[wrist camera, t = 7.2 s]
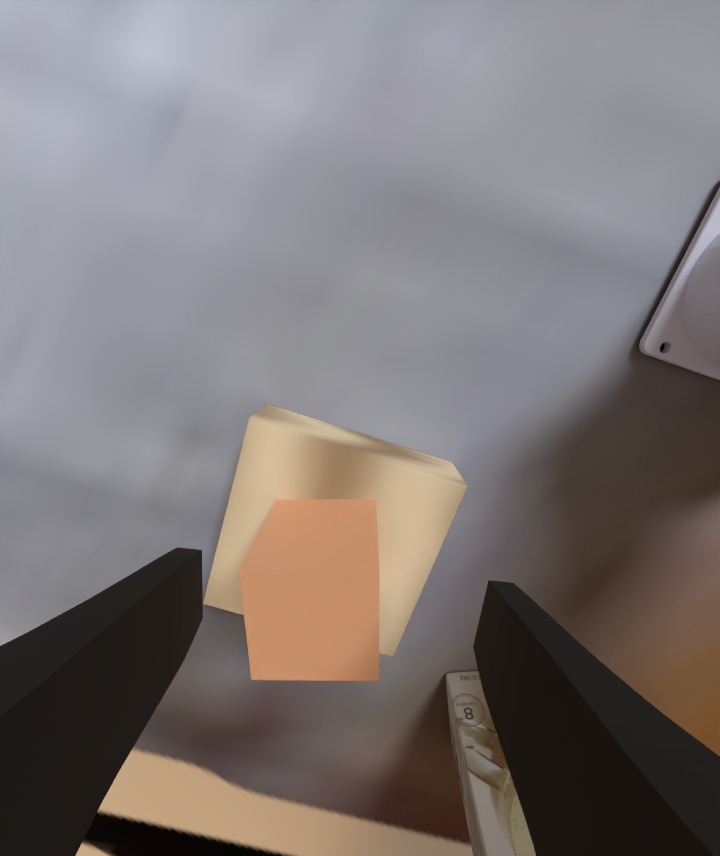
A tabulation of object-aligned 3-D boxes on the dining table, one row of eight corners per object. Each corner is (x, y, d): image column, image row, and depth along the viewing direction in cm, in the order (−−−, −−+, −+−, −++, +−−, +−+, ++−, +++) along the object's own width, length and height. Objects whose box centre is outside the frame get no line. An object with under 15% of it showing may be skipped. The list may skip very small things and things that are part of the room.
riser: (452, 462, 19) (467, 486, 16) (389, 612, 21) (393, 656, 19) (267, 404, 18) (249, 417, 15) (225, 565, 21) (202, 603, 18)
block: (375, 499, 16) (379, 569, 11) (375, 584, 17) (379, 681, 13) (276, 499, 16) (238, 569, 12) (283, 583, 18) (251, 679, 13)
